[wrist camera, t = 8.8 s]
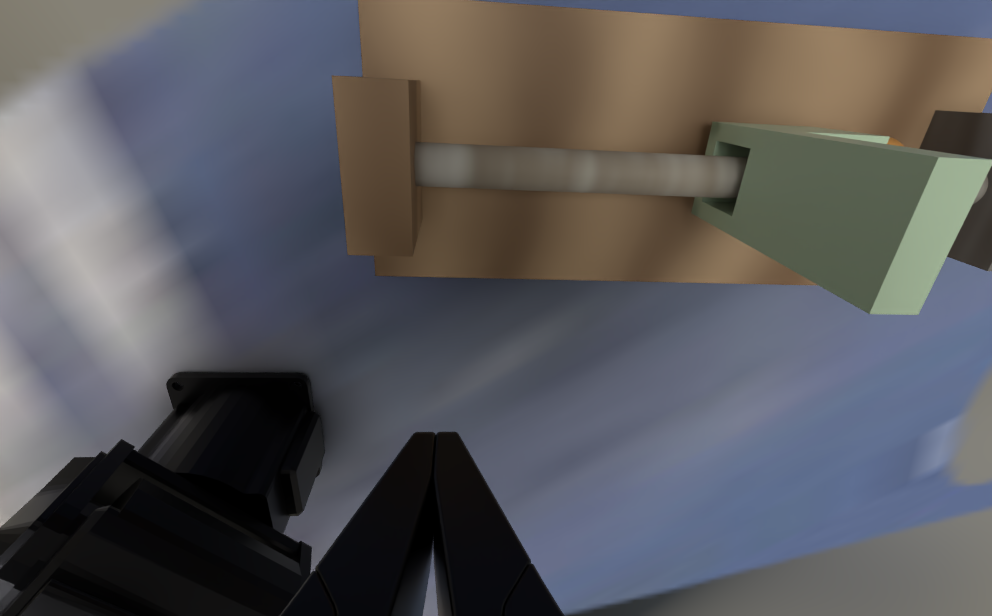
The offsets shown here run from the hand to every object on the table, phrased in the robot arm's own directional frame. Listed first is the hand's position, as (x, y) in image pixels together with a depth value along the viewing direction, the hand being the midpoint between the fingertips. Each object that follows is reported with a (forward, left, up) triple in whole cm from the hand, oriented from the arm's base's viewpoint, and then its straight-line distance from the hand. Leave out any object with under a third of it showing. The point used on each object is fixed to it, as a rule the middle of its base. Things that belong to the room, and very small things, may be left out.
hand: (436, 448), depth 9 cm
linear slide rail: (+9, +4, -13) cm, 16 cm away
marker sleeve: (+12, +4, -11) cm, 16 cm away
